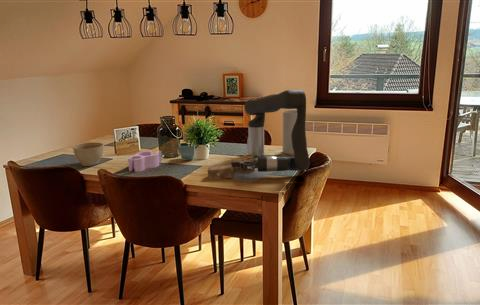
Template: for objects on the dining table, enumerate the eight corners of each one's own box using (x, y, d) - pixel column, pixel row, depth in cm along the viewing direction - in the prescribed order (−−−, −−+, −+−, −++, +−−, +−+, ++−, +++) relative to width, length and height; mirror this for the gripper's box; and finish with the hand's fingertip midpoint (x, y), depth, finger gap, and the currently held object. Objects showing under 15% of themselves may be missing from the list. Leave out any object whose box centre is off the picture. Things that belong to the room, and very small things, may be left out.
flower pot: (180, 157, 234) (179, 142, 232) (195, 156, 235) (194, 142, 232) (179, 161, 225) (178, 146, 223) (195, 160, 226) (194, 145, 224)
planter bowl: (68, 166, 219) (66, 147, 217) (88, 159, 234) (86, 141, 231) (92, 169, 214) (89, 149, 211) (111, 161, 229) (109, 143, 226)
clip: (141, 173, 205) (140, 160, 203) (123, 170, 211) (122, 157, 209) (165, 163, 222) (164, 151, 221) (148, 161, 228) (147, 149, 226)
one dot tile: (233, 177, 190) (208, 180, 191) (233, 174, 195) (209, 177, 196) (232, 167, 189) (207, 170, 189) (232, 164, 194) (208, 167, 194)
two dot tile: (254, 171, 201) (231, 171, 202) (254, 168, 206) (231, 168, 207) (254, 161, 200) (230, 162, 201) (254, 159, 205) (231, 159, 206)
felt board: (222, 178, 194) (222, 176, 193) (251, 166, 213) (251, 165, 213) (250, 184, 184) (250, 183, 183) (278, 171, 203) (278, 169, 203)
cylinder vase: (279, 151, 243) (279, 111, 237) (296, 149, 248) (297, 109, 242) (289, 155, 232) (289, 113, 226) (307, 153, 237) (308, 112, 231)
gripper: (267, 175, 185) (231, 175, 186) (266, 167, 198) (232, 167, 198) (267, 160, 183) (230, 160, 184) (266, 153, 196) (232, 153, 197)
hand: (231, 164), depth 191 cm, fingers closed
